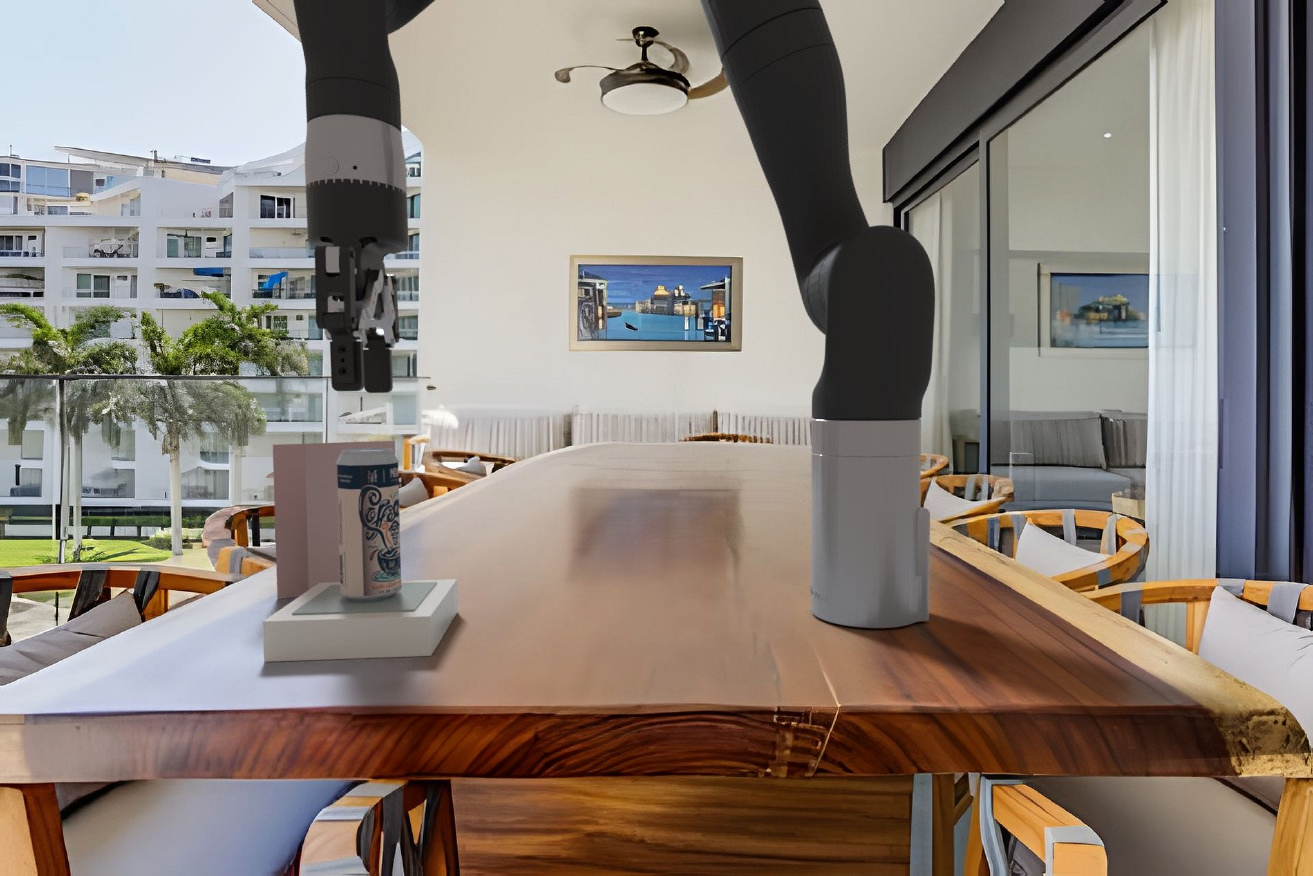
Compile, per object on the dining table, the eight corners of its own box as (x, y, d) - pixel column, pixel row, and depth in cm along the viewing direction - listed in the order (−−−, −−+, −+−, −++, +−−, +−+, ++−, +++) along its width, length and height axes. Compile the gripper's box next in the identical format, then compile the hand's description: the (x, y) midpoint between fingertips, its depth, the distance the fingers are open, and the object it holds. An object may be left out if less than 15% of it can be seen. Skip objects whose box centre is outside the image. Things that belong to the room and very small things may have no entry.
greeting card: (396, 581, 81) (392, 440, 81) (413, 596, 75) (410, 443, 74) (276, 596, 76) (271, 444, 75) (284, 614, 69) (279, 448, 68)
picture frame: (457, 612, 69) (457, 577, 69) (431, 655, 57) (430, 614, 57) (320, 616, 68) (319, 581, 68) (264, 661, 56) (262, 619, 56)
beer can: (381, 605, 60) (377, 451, 59) (326, 602, 61) (322, 451, 60) (412, 590, 65) (409, 448, 64) (361, 587, 66) (358, 447, 65)
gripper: (382, 160, 54) (390, 390, 55) (424, 210, 69) (430, 392, 69) (271, 159, 54) (281, 392, 55) (337, 210, 68) (344, 393, 69)
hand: (364, 392), depth 62 cm, fingers open, 8 cm apart
